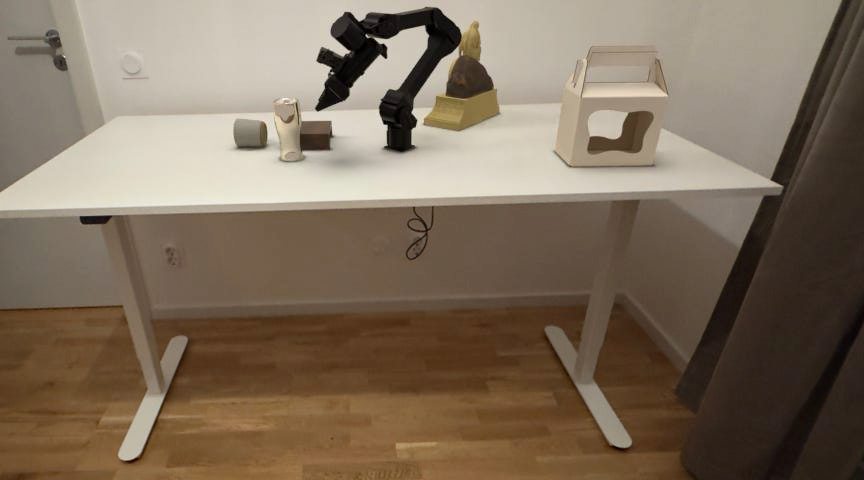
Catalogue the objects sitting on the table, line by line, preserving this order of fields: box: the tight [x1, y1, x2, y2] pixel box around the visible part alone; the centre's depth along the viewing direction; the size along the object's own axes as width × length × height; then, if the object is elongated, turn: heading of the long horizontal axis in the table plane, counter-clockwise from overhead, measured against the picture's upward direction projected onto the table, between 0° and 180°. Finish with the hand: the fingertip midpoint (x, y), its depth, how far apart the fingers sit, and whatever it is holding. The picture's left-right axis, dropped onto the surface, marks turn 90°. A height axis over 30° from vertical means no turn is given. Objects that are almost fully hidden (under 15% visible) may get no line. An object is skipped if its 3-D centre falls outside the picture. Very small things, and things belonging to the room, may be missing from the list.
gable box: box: [554, 45, 670, 168], centre depth 136 cm, size 22×13×28 cm, turn 93°
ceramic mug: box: [232, 118, 269, 148], centre depth 152 cm, size 11×8×8 cm
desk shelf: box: [301, 120, 333, 151], centre depth 153 cm, size 12×14×9 cm
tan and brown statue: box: [423, 20, 501, 132], centre depth 172 cm, size 28×13×30 cm, turn 144°
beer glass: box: [272, 97, 304, 162], centre depth 139 cm, size 7×7×15 cm
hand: (317, 105), depth 137 cm, fingers open, 9 cm apart
